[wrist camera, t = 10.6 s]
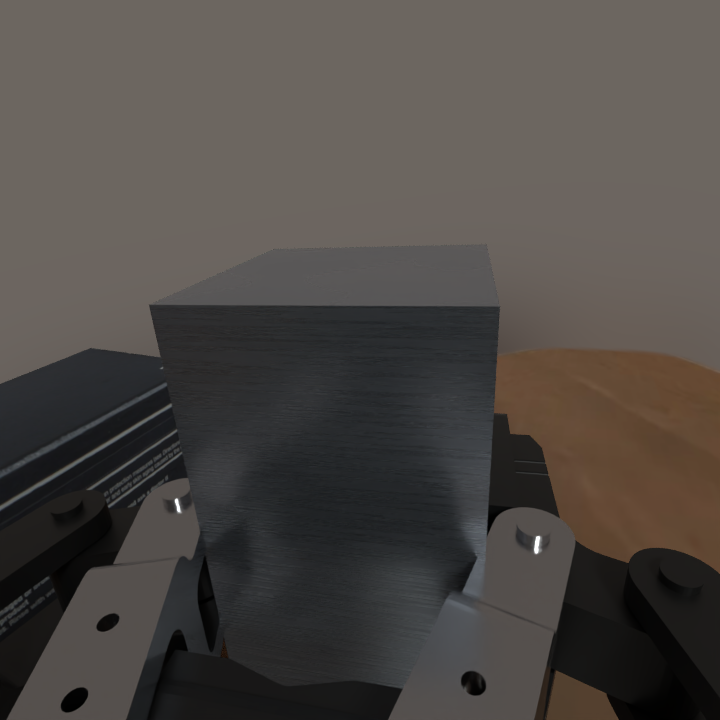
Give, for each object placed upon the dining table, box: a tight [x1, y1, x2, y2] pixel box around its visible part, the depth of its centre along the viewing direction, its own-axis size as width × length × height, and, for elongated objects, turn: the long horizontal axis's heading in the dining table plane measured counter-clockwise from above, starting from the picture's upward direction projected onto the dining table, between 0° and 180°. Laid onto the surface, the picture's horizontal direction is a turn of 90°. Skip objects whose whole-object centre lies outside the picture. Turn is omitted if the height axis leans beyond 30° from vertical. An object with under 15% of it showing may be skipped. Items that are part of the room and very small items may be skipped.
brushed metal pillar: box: [149, 245, 500, 689], centre depth 11 cm, size 5×5×13 cm
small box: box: [0, 348, 188, 642], centre depth 16 cm, size 11×6×10 cm, turn 155°
